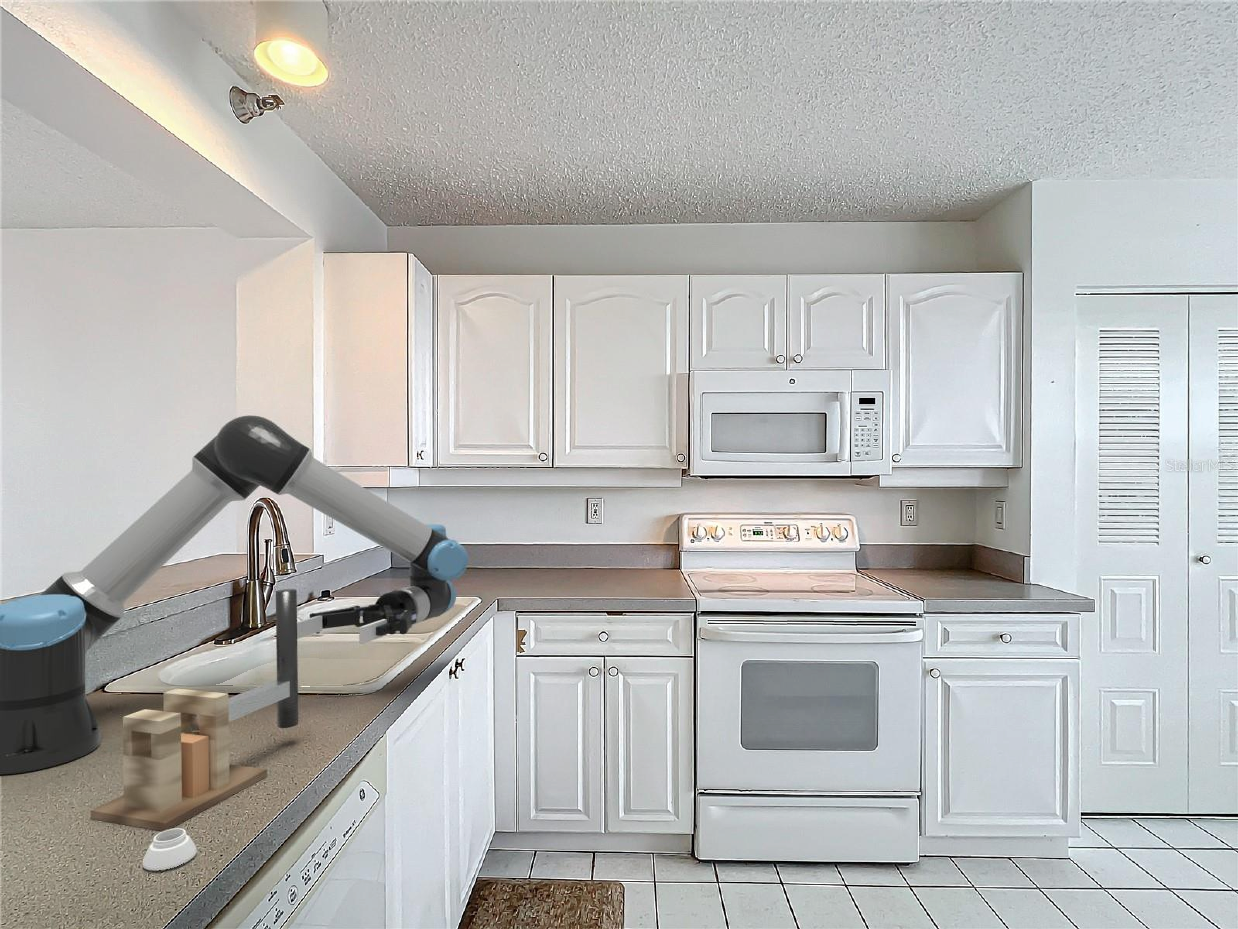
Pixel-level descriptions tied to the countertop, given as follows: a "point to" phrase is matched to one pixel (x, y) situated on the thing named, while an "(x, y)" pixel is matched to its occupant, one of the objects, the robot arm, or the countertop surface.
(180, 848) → the lidless jar
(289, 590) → the crank handle
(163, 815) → the bearing stand
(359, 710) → the countertop surface
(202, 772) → the spacer
